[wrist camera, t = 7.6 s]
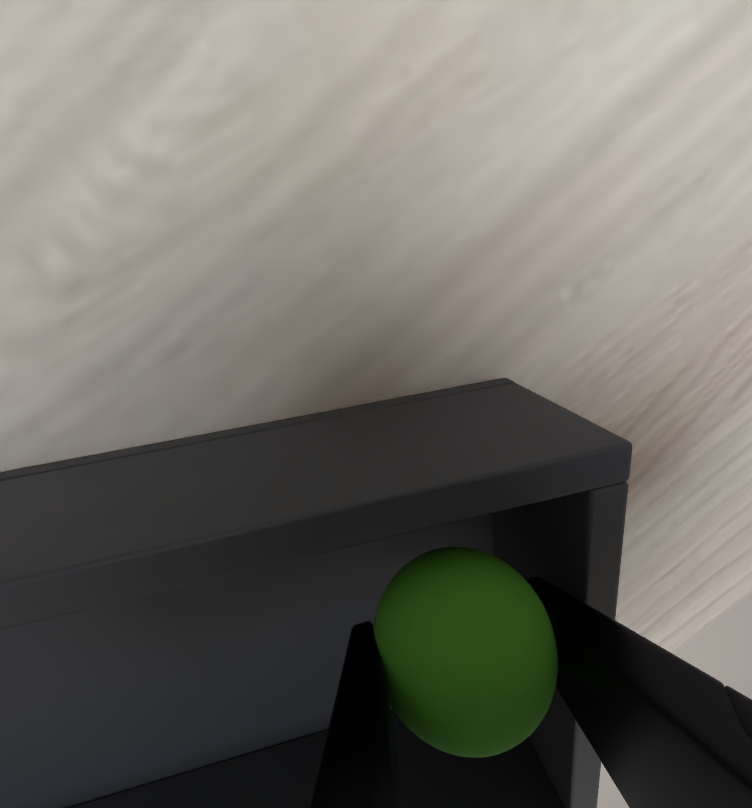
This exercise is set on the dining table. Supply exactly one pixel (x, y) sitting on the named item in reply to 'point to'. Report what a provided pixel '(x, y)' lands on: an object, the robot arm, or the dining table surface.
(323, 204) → the dining table surface
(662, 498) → the dining table surface
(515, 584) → the pea
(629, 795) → the robot arm
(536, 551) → the tray
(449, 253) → the dining table surface
